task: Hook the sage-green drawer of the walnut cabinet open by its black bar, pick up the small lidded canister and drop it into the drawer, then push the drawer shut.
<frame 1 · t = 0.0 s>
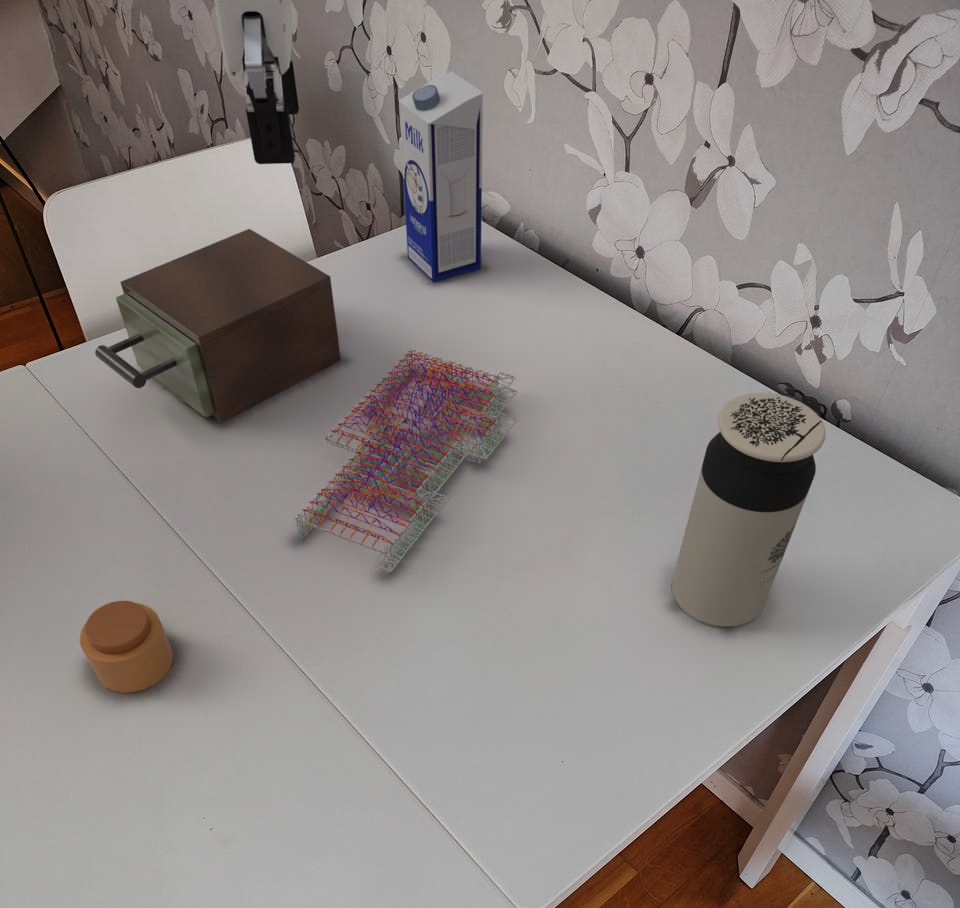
hand: (278, 136, 76), 25 cm above the table, tool pointing down, fingers open, 9 cm apart
small lidded canister: (135, 662, 72), on the table
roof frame: (409, 466, 88), on the table
milk carton: (444, 264, 112), on the table
drawer: (201, 338, 92), point 5 cm above the table, slide at 0.0 cm, touching cabinet
cabinet: (244, 363, 98), on the table
travel mug: (716, 595, 78), on the table
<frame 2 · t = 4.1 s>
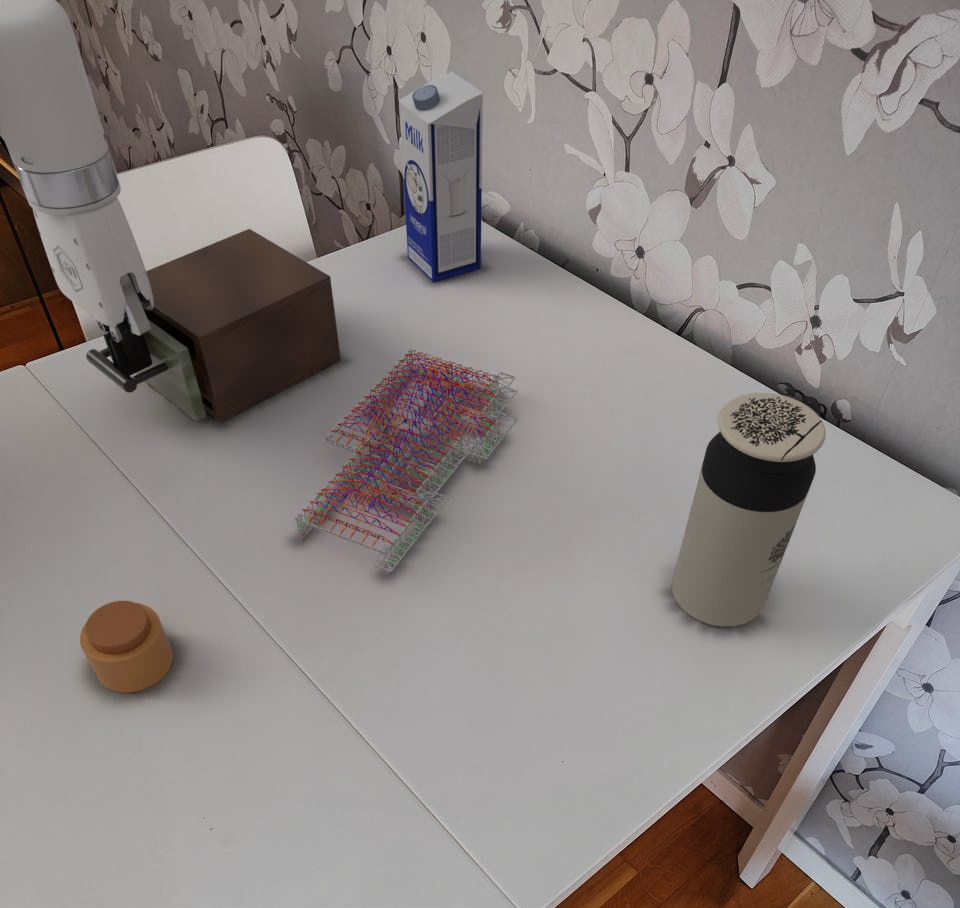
hand: (134, 367, 89), 5 cm above the table, tool pointing down, fingers closed
drawer: (193, 342, 92), point 5 cm above the table, slide at 1.0 cm, touching gripper
everything else where it was.
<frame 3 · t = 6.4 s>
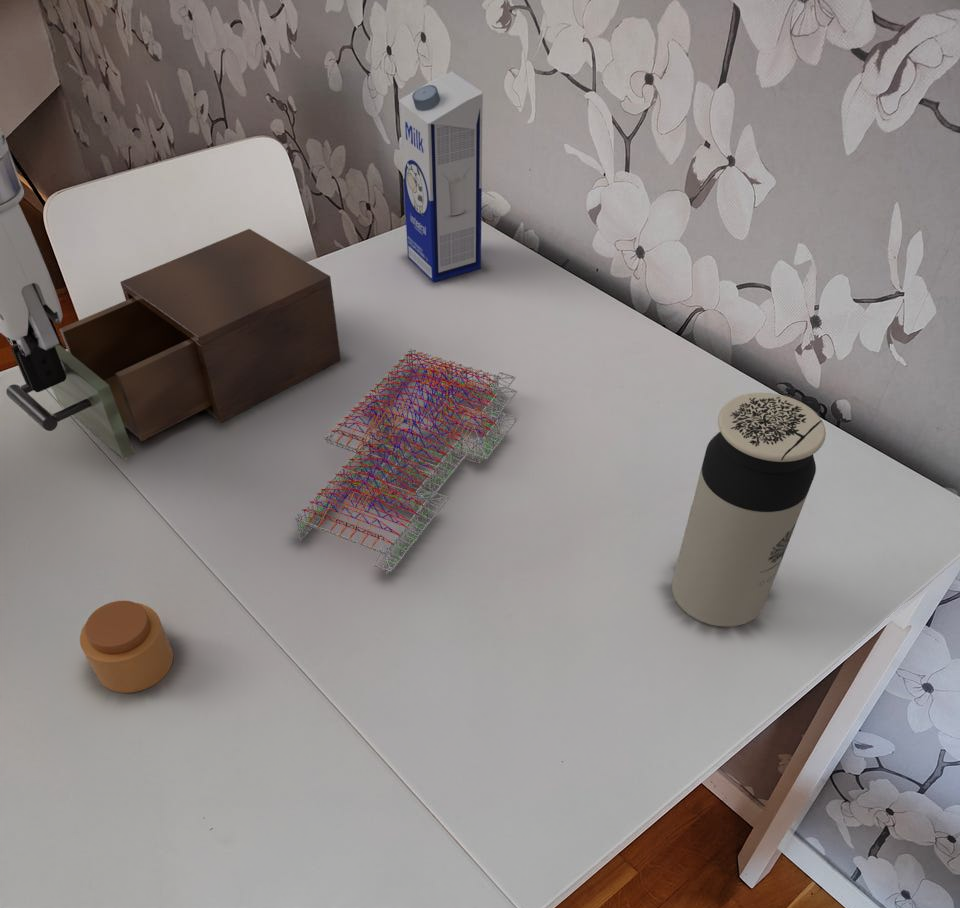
hand: (47, 382, 83), 7 cm above the table, tool pointing down, fingers closed
drawer: (121, 376, 88), point 5 cm above the table, slide at 9.3 cm
everything else where it was.
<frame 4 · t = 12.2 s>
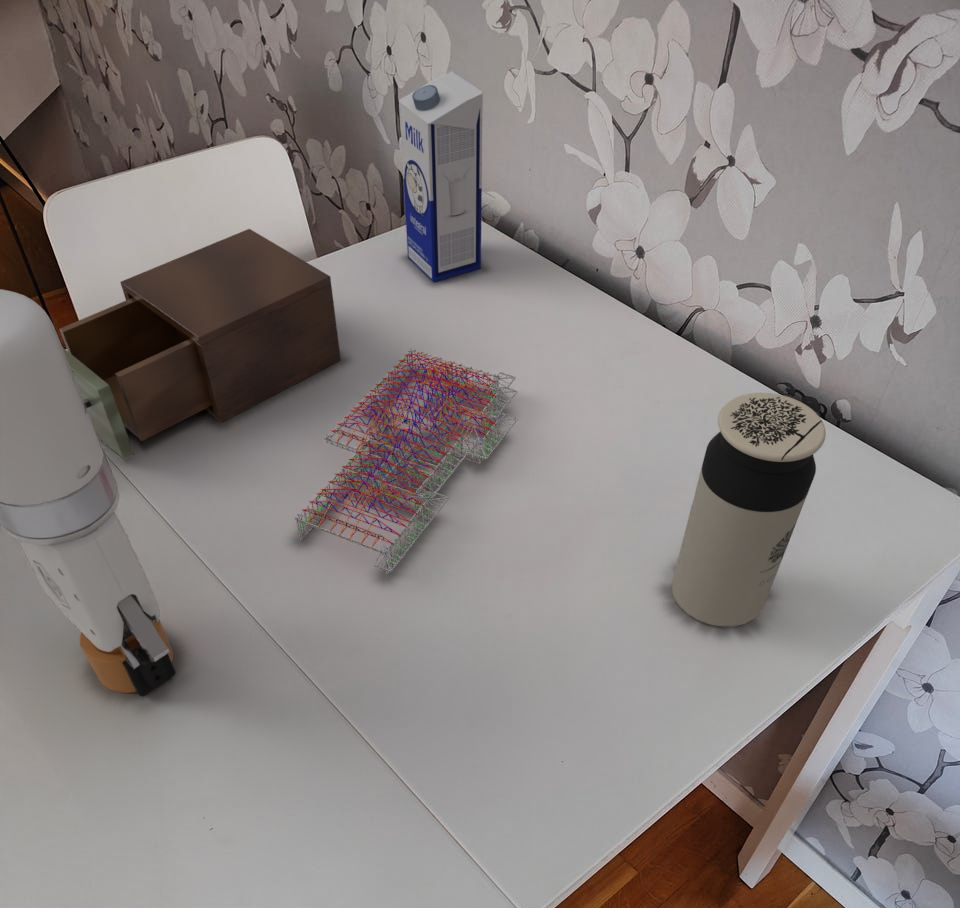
hand: (133, 658, 72), 1 cm above the table, tool pointing down, fingers closed on small lidded canister, 6 cm apart
small lidded canister: (135, 662, 72), on the table, touching gripper
everything else where it was.
when the fingers open (10 cm above the table, at t = 19.2 s): small lidded canister drops 7 cm, resting on drawer.
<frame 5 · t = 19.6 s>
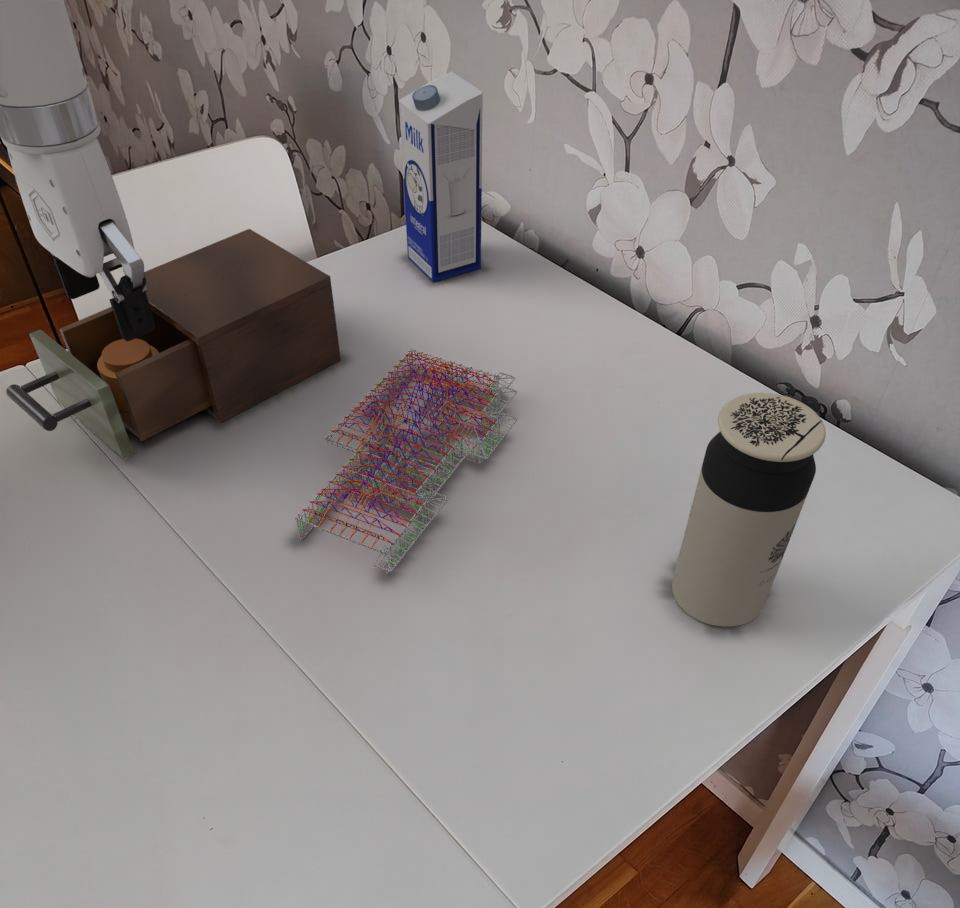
hand: (111, 313, 84), 11 cm above the table, tool pointing down, fingers open, 9 cm apart
small lidded canister: (140, 394, 91), point 2 cm above the table, touching drawer
drawer: (121, 376, 88), point 5 cm above the table, slide at 9.3 cm, touching small lidded canister
everything else where it was.
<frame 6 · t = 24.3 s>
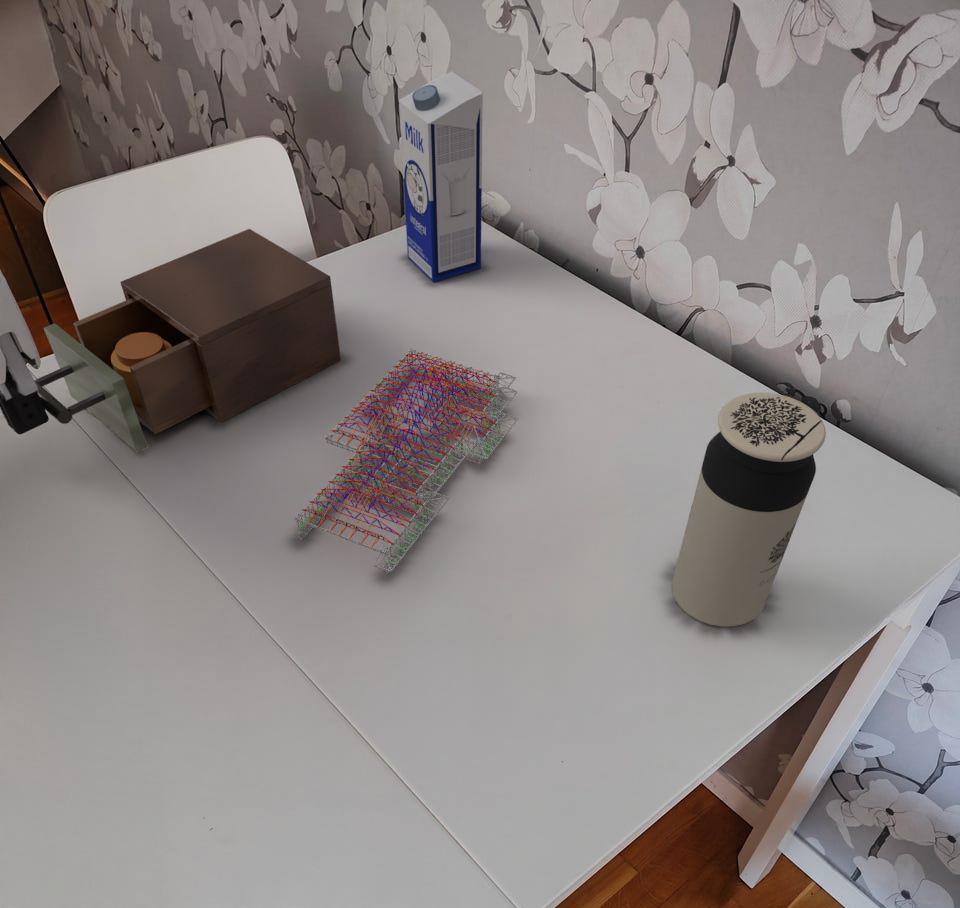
hand: (29, 424, 84), 4 cm above the table, tool pointing down, fingers closed
small lidded canister: (153, 388, 92), point 2 cm above the table, touching drawer
drawer: (134, 369, 89), point 5 cm above the table, slide at 7.8 cm, touching small lidded canister, gripper
everything else where it was.
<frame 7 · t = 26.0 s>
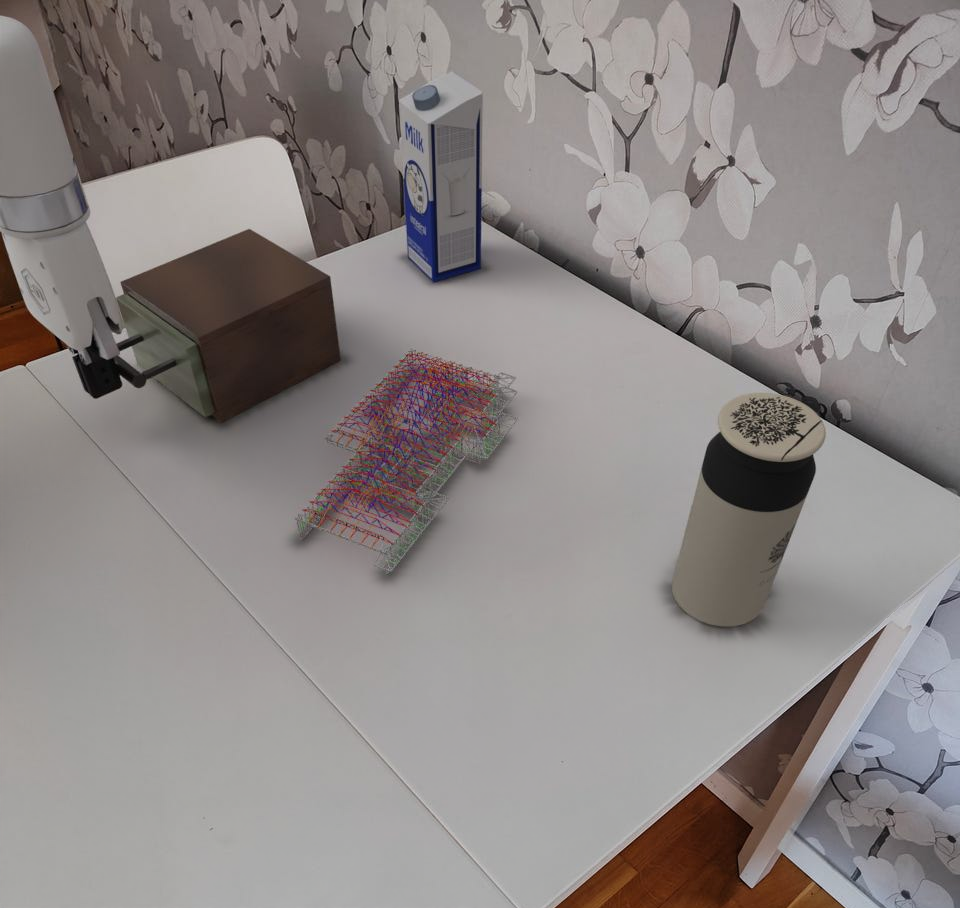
hand: (104, 389, 88), 4 cm above the table, tool pointing down, fingers closed
small lidded canister: (217, 357, 95), point 2 cm above the table, touching drawer
drawer: (201, 338, 92), point 5 cm above the table, slide at 0.0 cm, touching small lidded canister, cabinet, gripper
everything else where it was.
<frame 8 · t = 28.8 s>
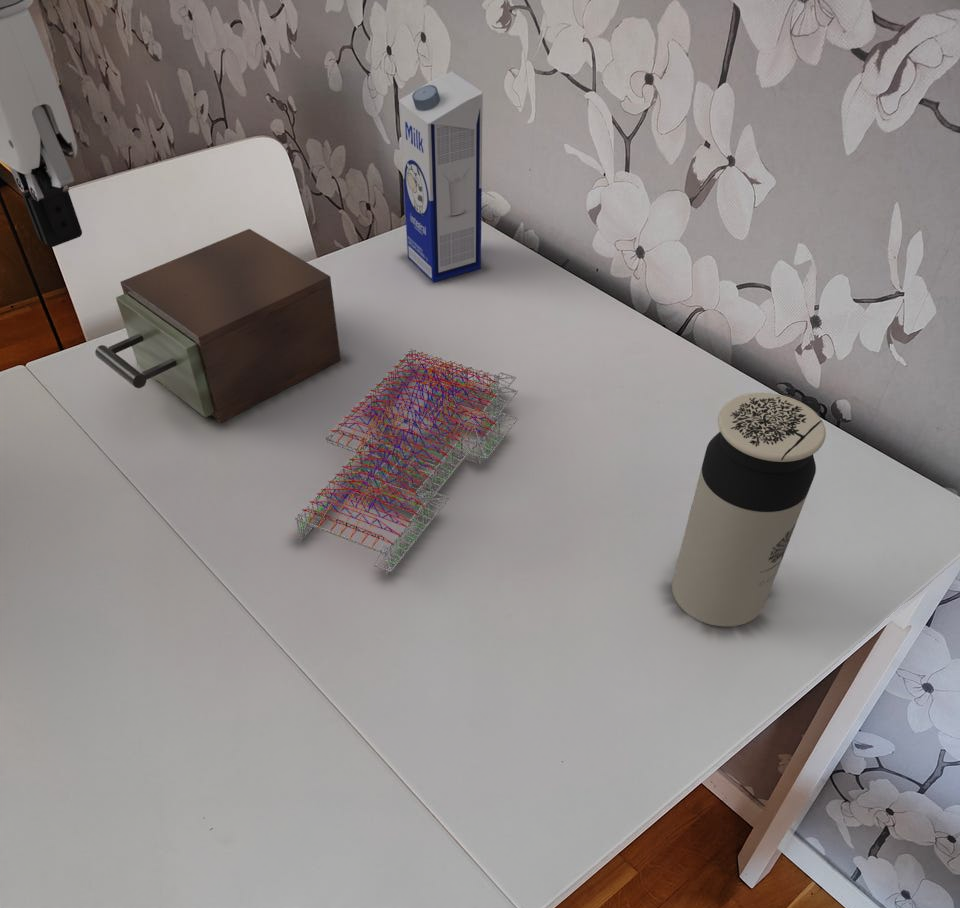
hand: (61, 238, 77), 19 cm above the table, tool pointing down, fingers closed
drawer: (201, 338, 92), point 5 cm above the table, slide at 0.0 cm, touching small lidded canister, cabinet
everything else where it was.
at the end: drawer pulled out 9.3 cm at the most during the clip, back to where it started at the end; small lidded canister inside the target area in the cabinet (3.0 cm from its centre), point 2.1 cm above the cabinet's base; drawer slide at 0.0 cm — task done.
